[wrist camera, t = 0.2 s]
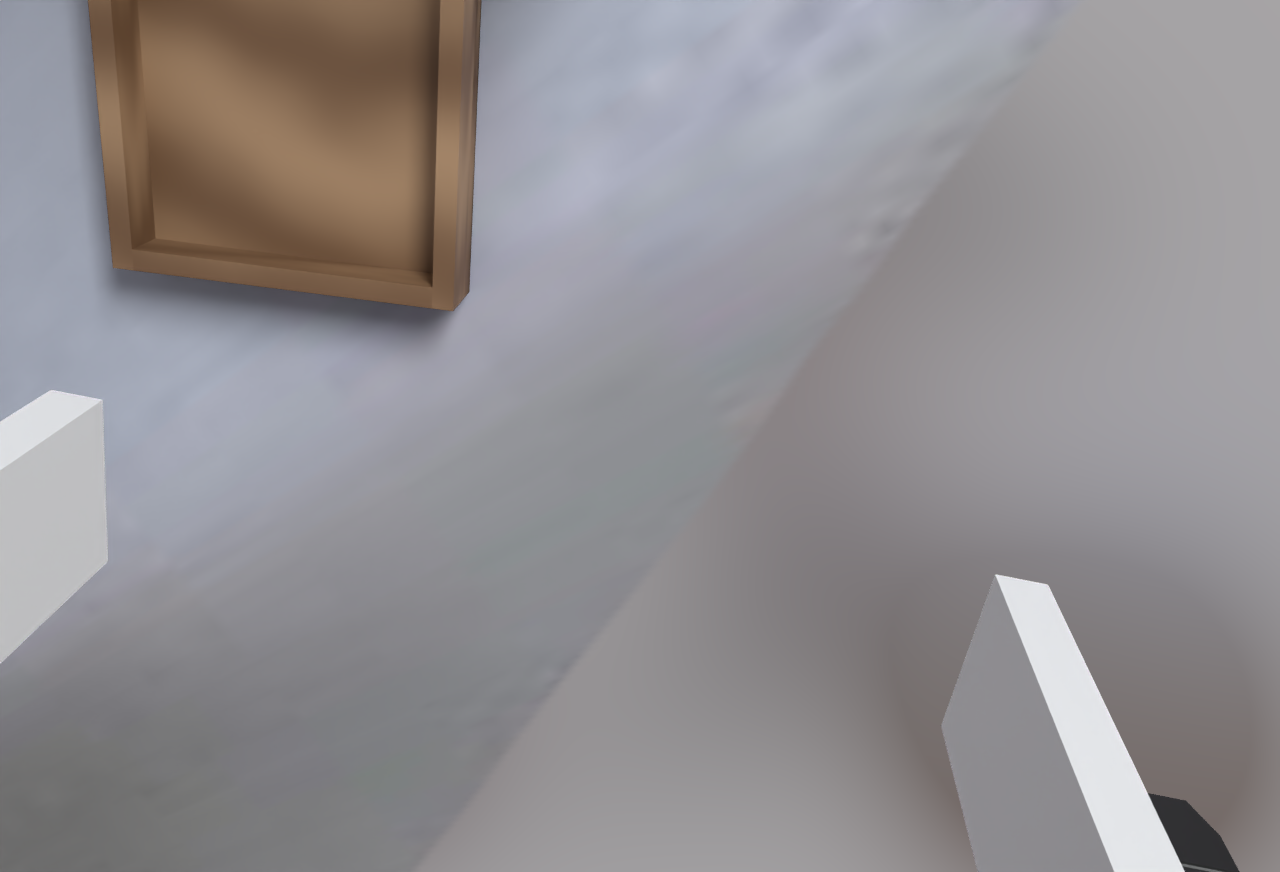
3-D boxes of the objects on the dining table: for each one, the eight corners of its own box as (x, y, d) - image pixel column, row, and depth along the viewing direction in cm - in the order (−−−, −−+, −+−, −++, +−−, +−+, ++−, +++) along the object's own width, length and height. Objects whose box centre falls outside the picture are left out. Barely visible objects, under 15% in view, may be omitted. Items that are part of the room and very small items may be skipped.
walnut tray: (104, -280, 36) (60, -297, 34) (491, -239, 36) (473, -253, 34) (147, 250, 44) (112, 267, 41) (469, 291, 43) (453, 311, 41)
